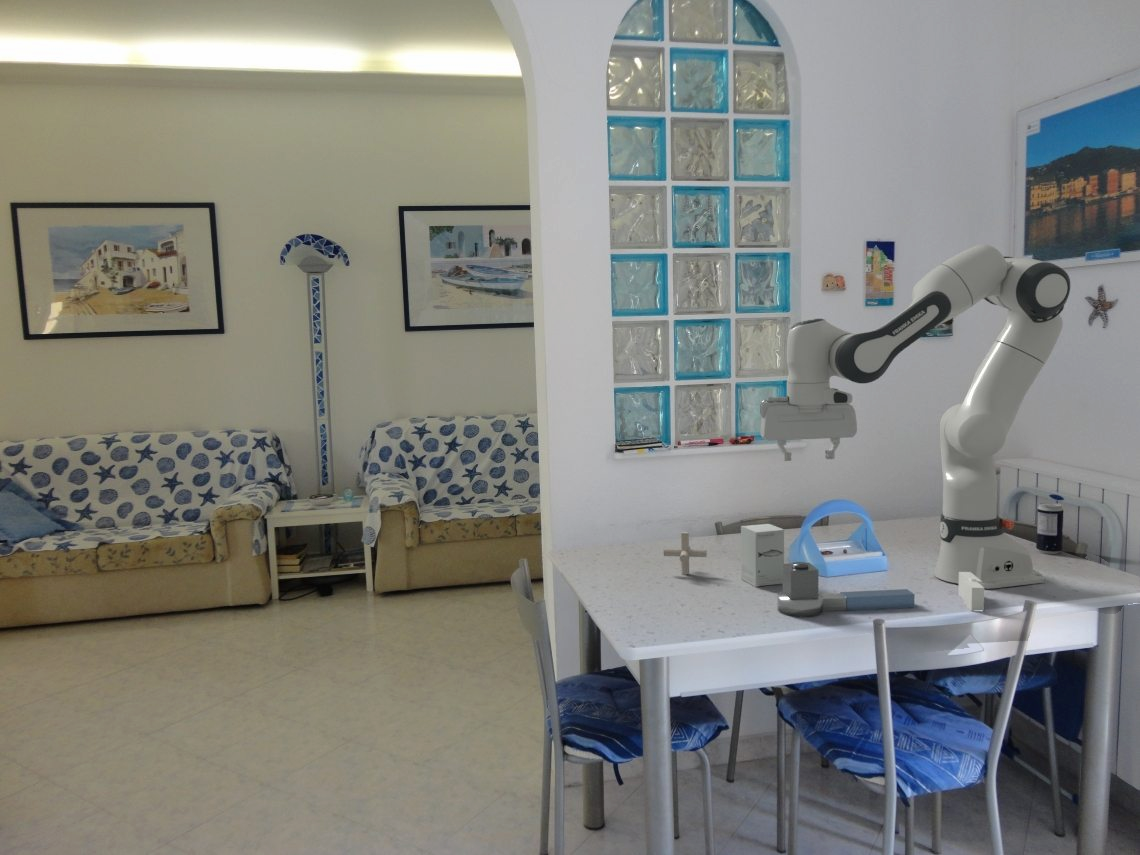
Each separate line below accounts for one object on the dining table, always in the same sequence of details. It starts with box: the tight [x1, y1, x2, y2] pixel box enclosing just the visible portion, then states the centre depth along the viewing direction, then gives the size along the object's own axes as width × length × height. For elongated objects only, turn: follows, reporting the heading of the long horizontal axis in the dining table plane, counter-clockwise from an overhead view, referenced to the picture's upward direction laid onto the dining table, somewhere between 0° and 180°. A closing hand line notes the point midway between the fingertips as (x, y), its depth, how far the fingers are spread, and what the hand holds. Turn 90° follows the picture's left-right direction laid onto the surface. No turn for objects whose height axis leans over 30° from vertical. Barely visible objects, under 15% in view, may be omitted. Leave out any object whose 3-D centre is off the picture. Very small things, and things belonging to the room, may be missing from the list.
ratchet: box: [777, 588, 916, 618], centre depth 178 cm, size 28×9×7 cm, turn 93°
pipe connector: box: [663, 531, 708, 576], centre depth 206 cm, size 10×10×10 cm
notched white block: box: [957, 572, 985, 612], centre depth 179 cm, size 15×11×6 cm
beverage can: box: [1035, 502, 1064, 555], centre depth 216 cm, size 6×6×12 cm
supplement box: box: [740, 523, 785, 588], centre depth 198 cm, size 7×7×13 cm
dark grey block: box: [782, 561, 819, 600], centre depth 178 cm, size 6×6×7 cm
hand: (808, 459), depth 188 cm, fingers open, 8 cm apart
